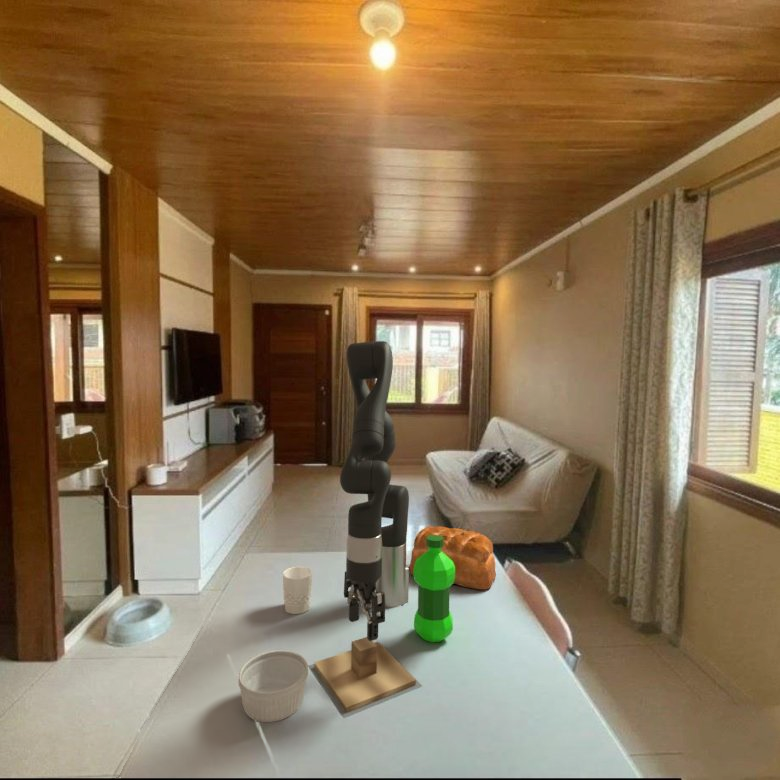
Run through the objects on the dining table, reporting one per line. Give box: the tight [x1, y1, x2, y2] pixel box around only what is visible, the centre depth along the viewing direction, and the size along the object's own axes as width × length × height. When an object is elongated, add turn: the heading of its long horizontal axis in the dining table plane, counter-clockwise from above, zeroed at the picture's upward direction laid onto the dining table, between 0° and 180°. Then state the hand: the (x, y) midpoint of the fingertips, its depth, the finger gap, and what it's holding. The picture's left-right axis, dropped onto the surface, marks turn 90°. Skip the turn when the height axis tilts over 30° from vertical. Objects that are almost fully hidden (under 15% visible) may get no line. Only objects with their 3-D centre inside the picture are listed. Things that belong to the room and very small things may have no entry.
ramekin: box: [238, 650, 309, 723], centre depth 94 cm, size 13×13×7 cm
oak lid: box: [313, 636, 417, 713], centre depth 102 cm, size 16×16×7 cm
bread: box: [409, 525, 497, 590], centre depth 152 cm, size 14×26×16 cm, turn 67°
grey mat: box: [308, 663, 423, 719], centre depth 102 cm, size 18×18×1 cm
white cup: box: [282, 566, 313, 615], centre depth 131 cm, size 8×8×10 cm
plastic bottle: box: [412, 535, 455, 643], centre depth 117 cm, size 10×10×25 cm
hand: (362, 629), depth 101 cm, fingers open, 8 cm apart
